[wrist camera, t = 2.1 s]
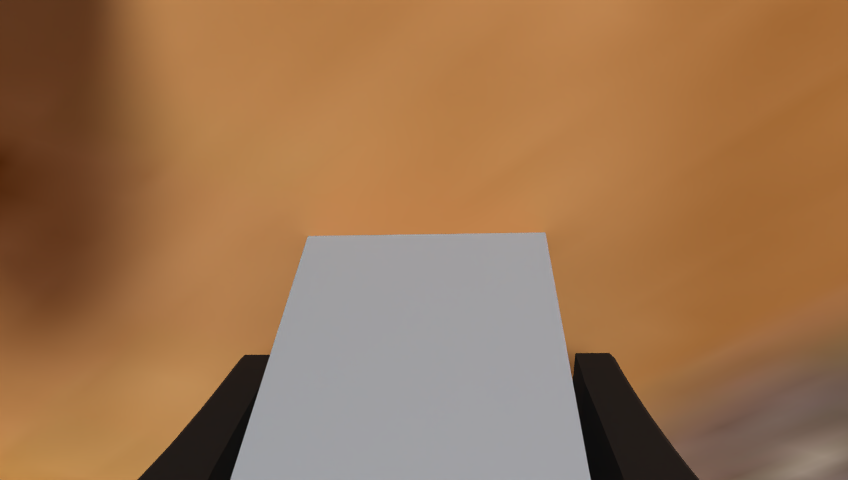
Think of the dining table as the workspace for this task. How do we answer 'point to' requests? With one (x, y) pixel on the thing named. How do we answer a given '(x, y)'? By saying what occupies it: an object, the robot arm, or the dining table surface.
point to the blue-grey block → (418, 365)
